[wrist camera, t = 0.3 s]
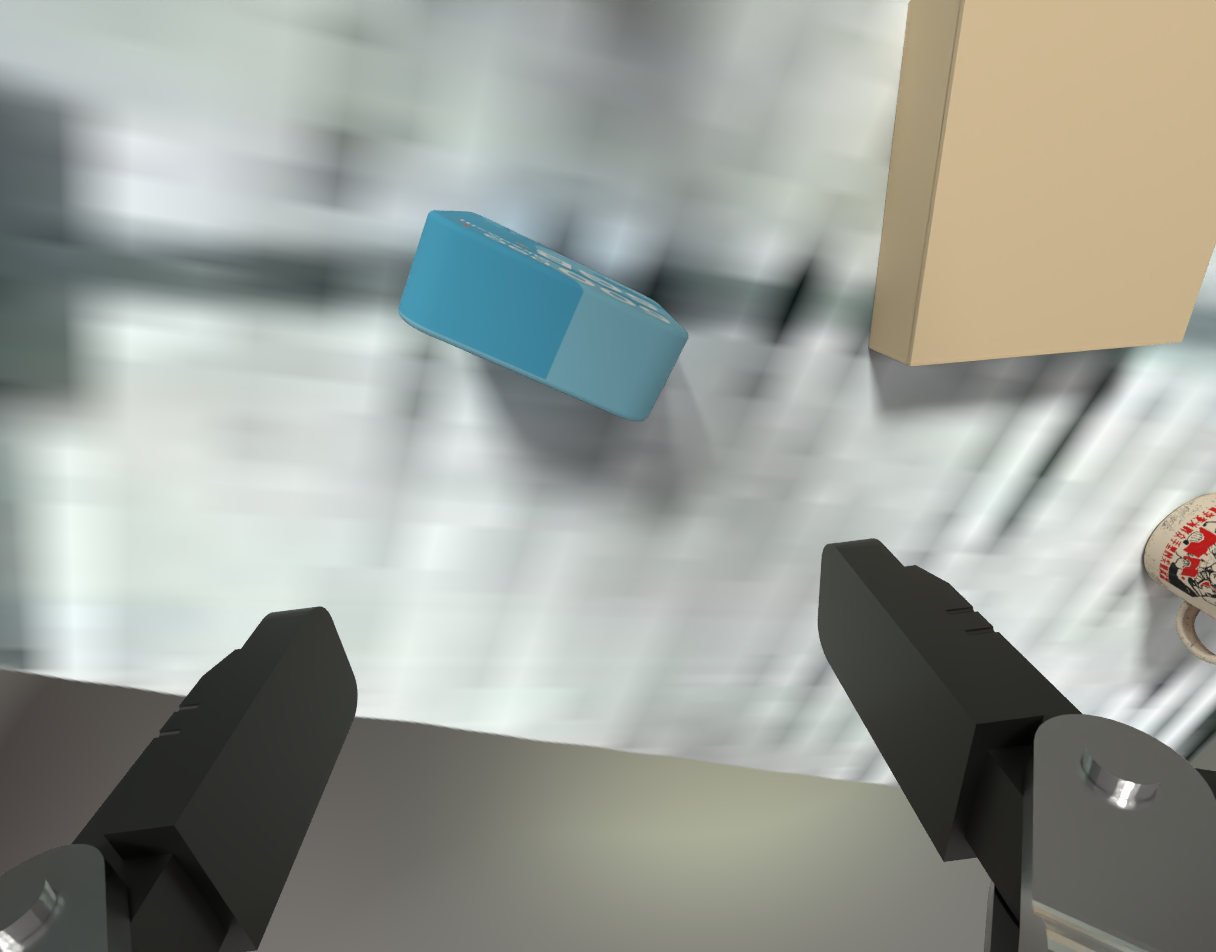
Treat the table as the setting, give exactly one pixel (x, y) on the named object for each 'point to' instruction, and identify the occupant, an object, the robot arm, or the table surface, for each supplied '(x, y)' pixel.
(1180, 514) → the teacup with lid
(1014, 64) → the mailer sleeve
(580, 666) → the table surface
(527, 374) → the data package
